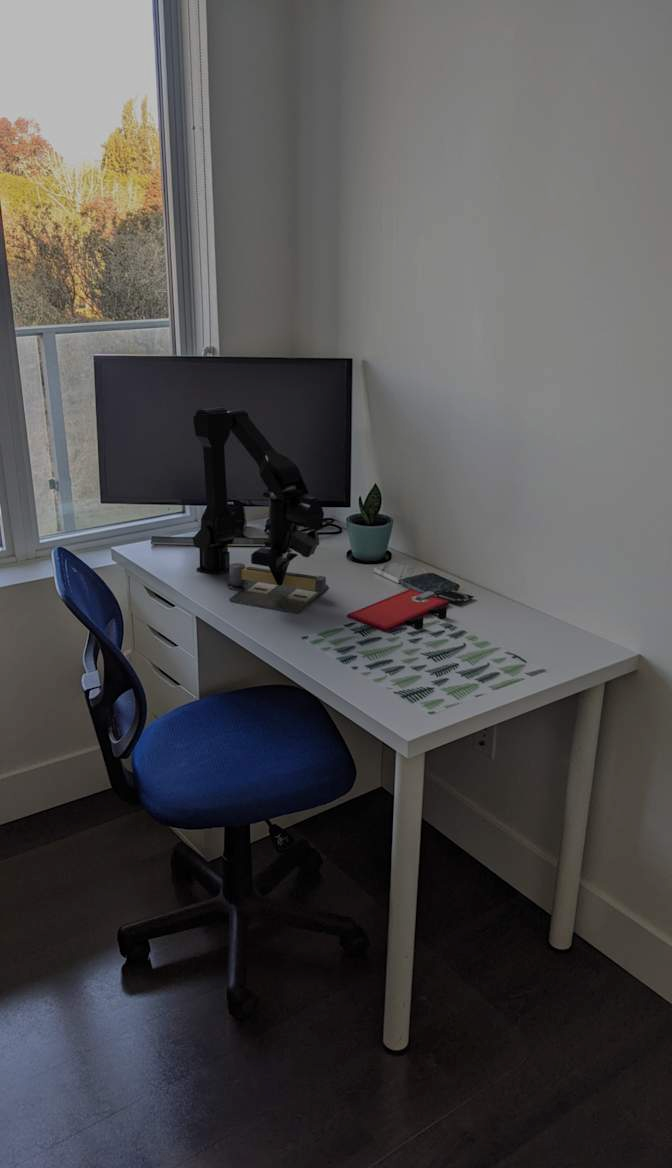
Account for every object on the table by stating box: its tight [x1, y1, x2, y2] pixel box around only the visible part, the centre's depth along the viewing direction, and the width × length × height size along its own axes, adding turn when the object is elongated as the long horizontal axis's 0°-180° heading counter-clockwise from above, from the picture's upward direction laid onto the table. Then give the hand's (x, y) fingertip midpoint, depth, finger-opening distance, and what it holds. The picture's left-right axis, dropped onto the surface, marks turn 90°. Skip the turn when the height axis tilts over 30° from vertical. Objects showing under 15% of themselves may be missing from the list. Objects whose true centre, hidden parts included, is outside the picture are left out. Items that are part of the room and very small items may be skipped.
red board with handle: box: [346, 588, 475, 633], centre depth 206 cm, size 30×3×15 cm
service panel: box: [226, 581, 329, 615], centre depth 212 cm, size 22×18×1 cm
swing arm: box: [229, 562, 327, 594], centre depth 211 cm, size 23×4×4 cm, turn 73°
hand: (279, 585), depth 209 cm, fingers closed
